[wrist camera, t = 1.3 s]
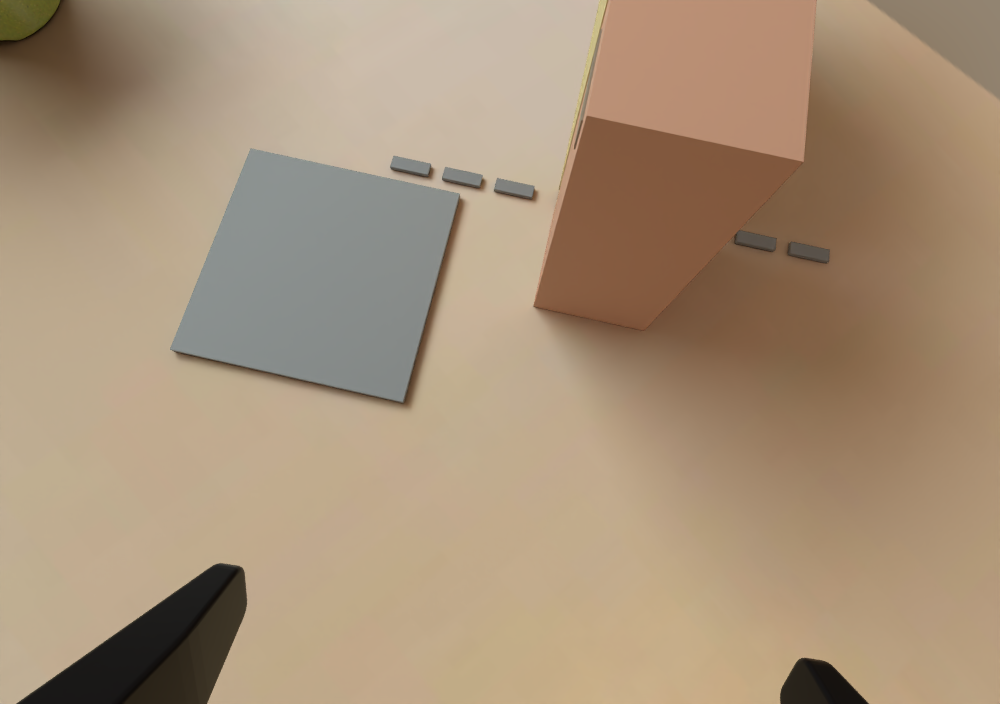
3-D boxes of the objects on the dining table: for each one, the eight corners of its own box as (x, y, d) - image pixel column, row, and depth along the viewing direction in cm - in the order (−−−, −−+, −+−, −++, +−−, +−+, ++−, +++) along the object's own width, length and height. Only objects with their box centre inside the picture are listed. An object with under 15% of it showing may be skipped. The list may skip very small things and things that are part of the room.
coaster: (403, 403, 23) (403, 401, 23) (173, 351, 23) (170, 349, 23) (459, 197, 26) (459, 193, 26) (253, 152, 26) (250, 148, 26)
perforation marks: (826, 263, 26) (829, 261, 26) (390, 169, 26) (390, 166, 26) (827, 251, 26) (829, 249, 26) (394, 158, 26) (393, 155, 26)
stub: (645, 331, 25) (805, 162, 13) (532, 306, 25) (584, 114, 13) (660, 231, 26) (818, -7, 14) (553, 208, 26) (619, -49, 14)
